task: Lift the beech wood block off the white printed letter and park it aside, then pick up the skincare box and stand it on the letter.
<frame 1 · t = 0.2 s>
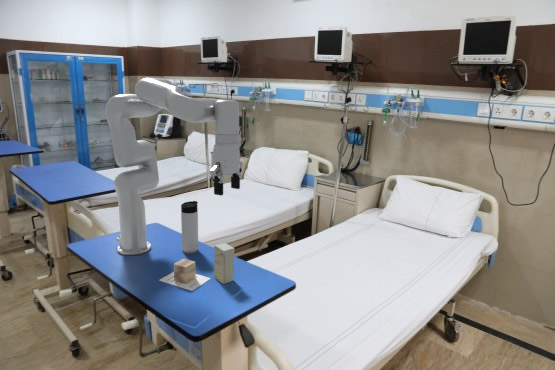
hand: (227, 191, 129), 30 cm above the table, tool pointing down, fingers open, 9 cm apart
letter: (185, 280, 133), on the table
skincare box: (224, 280, 135), on the table
block: (185, 279, 133), resting on letter
travel mug: (190, 251, 157), on the table
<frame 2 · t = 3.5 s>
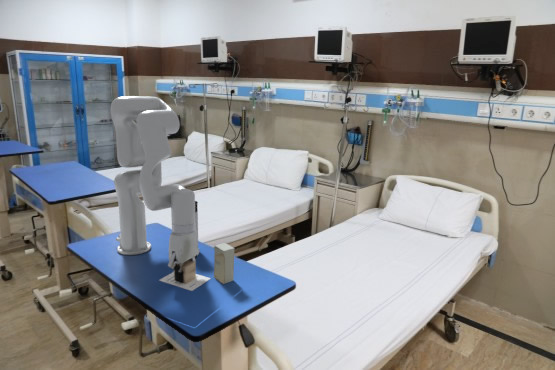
hand: (185, 277, 133), 1 cm above the table, tool pointing down, fingers closed on block, 5 cm apart
block: (185, 279, 133), resting on letter, touching gripper
everything else where it was.
when the fingers open (4 cm above the table, at t = 17.7 s): block stays where it is, on the table.
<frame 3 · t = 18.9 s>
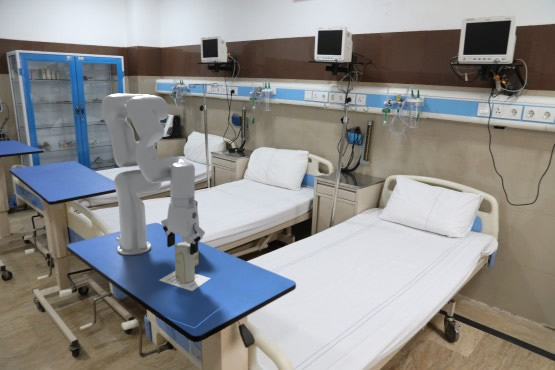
hand: (182, 249, 131), 11 cm above the table, tool pointing down, fingers open, 9 cm apart
skincare box: (185, 279, 133), resting on letter, touching gripper
block: (188, 266, 144), on the table
everything else where it was.
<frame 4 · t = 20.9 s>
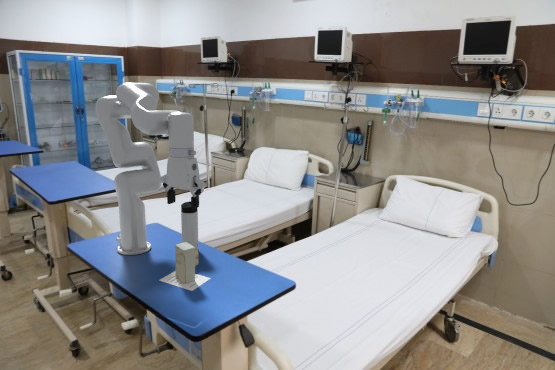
hand: (183, 205, 127), 26 cm above the table, tool pointing down, fingers open, 9 cm apart
skincare box: (185, 279, 133), resting on letter
everything else where it was.
at the end: skincare box inside the target area on the letter (0.2 cm from its centre), point 0.1 cm above the letter's base; skincare box tilted 0°; block moved 10.9 cm from its start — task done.
